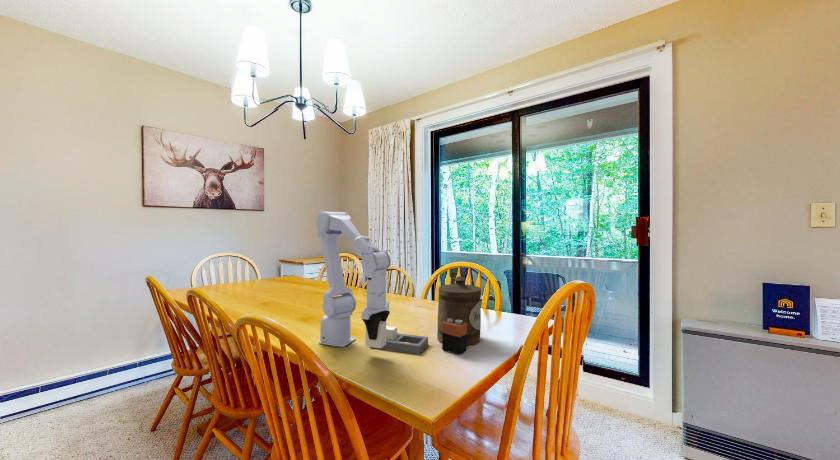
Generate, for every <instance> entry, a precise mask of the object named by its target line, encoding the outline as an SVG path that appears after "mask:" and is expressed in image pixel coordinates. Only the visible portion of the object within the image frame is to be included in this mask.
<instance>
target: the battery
mask: <svg viewBox="0 0 840 460" xmlns="http://www.w3.org/2000/svg"><path fill="white" fill-rule="evenodd" d="M441 349H442V350H443V351H445V352H448V353H451V354H454V355H458V356H459V355H462V354H464V353H466V352H467V324H466V323H464V322H462V320H452V318H448V320H447V321H444V322H443V326H442V343H441Z"/></svg>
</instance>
